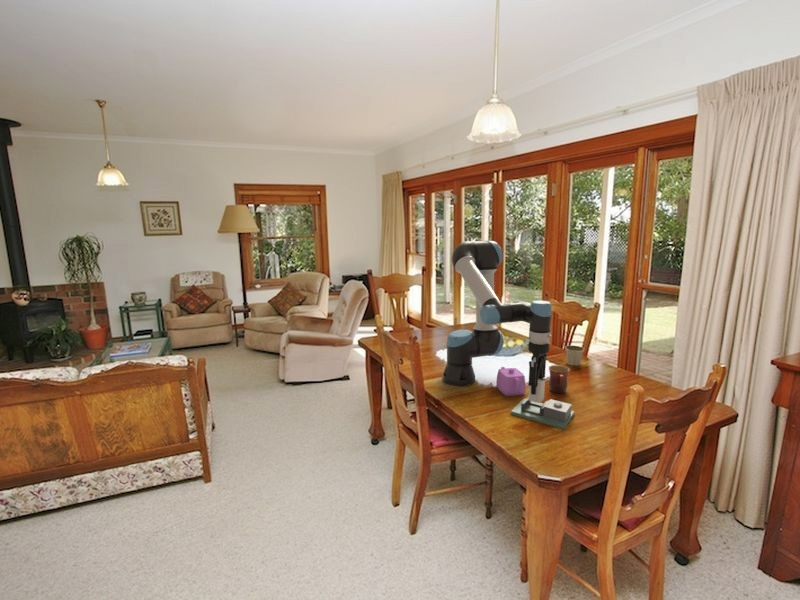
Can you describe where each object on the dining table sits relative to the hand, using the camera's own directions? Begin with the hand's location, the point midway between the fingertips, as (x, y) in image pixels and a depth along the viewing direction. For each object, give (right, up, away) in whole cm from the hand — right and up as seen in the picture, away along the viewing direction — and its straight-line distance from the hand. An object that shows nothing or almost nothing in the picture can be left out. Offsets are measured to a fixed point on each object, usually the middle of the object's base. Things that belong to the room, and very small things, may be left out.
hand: (535, 398), depth 161 cm
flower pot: (+37, +5, +53) cm, 65 cm away
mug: (+16, -2, +19) cm, 25 cm away
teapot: (-4, -2, +22) cm, 23 cm away
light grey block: (0, 0, 0) cm, 0 cm away
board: (+2, -6, 0) cm, 6 cm away
